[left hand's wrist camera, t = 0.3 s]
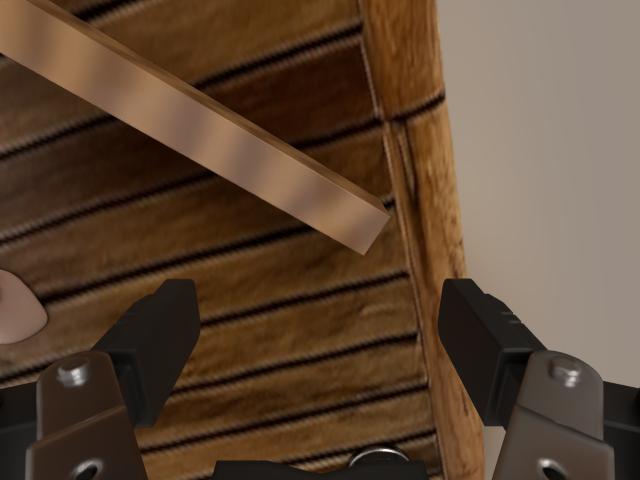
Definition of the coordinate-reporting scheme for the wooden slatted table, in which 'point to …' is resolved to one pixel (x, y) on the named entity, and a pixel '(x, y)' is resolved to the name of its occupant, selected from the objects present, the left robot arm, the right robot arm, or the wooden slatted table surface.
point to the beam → (186, 120)
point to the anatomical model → (18, 310)
